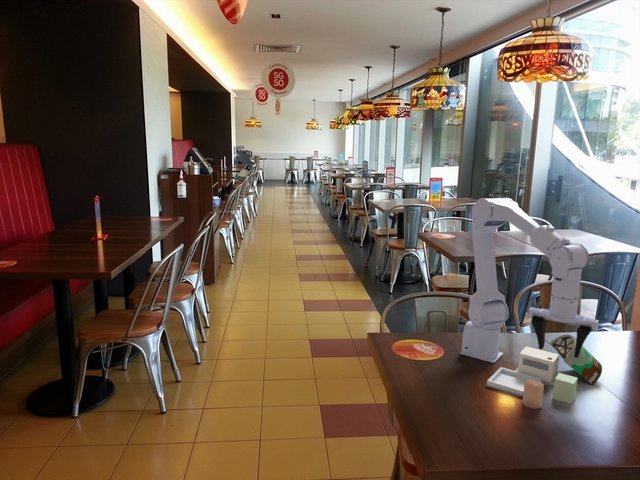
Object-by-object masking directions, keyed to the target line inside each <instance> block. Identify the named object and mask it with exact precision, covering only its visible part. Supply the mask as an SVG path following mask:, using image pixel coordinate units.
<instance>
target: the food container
mask: <svg viewBox="0 0 640 480" xmlns="http://www.w3.org/2000/svg"><path fill="white" fill-rule="evenodd" d="M576 339H577V336H576V337H575V336H574V335H570V334H563V335H559V336H557V337H556V338H554V339H553V340H551V341H550V342H549V345H551V346H552V347H553V348H554V349H555V351H556V352H557V354H559V356H560V357H561V358H562V359H563V362H564V363H565V364H566V365H567V366H569V367H570V368H571V369H573V370H574V371H575V372H576V373H577V374H578V375H580V376H581V377H582V378H583V379H585V380H586V381H587V382H588V383H589V384H590V385H592V386H594V385H595V384H596V383H597V382H598V380H599V379H600V378H601V375H602V373H603V366H602V363H601V362H600V361H598V360H597V359H596V358H595V357H594V356H593V354H591V353H590V352H589V350H588V349H586V347H584V346H583V345H582V348H581V350H580V354H579V357H578V358H575V357H574V353H575V348H576Z"/></svg>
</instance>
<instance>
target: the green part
mask: <svg viewBox="0 0 640 480" xmlns="http://www.w3.org/2000/svg"><path fill="white" fill-rule="evenodd" d="M558 373H559V374H558V375H557V376H556V378H555V383H554V388H553V393H552V399H553V400H557V401H560V402H563V403H566V404H569V405H572V404H573V402H574V400H575V399H576V393H577V387H578V386H577V385H578V380H579V379H578V377H576V376H572V375H568V374H565V373H561V372H558Z"/></svg>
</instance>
